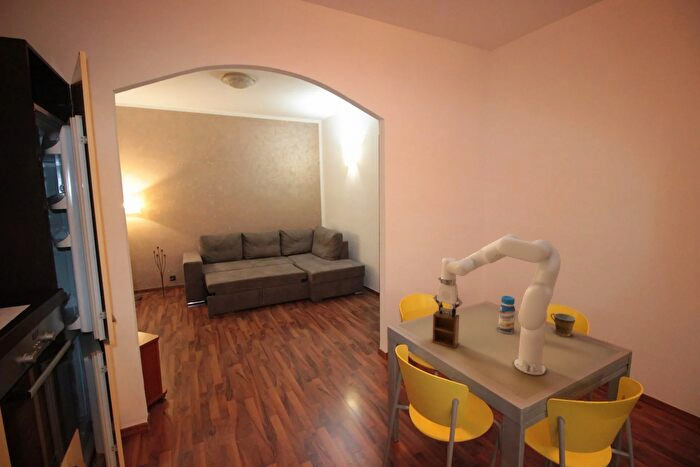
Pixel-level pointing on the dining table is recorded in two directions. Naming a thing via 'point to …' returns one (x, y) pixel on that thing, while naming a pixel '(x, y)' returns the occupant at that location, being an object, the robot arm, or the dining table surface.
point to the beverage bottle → (507, 315)
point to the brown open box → (445, 328)
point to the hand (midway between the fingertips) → (447, 313)
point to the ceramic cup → (563, 323)
